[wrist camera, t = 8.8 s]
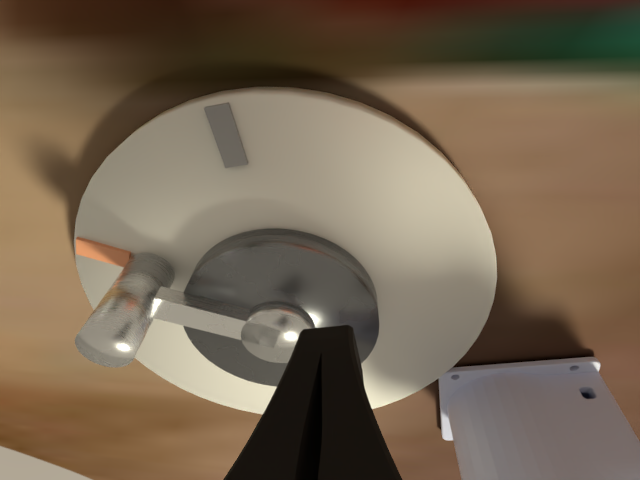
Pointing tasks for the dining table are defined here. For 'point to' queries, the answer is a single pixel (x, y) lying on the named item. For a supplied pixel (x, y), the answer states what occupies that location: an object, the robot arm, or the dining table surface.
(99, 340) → the dial
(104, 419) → the dining table surface
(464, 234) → the dial plate
